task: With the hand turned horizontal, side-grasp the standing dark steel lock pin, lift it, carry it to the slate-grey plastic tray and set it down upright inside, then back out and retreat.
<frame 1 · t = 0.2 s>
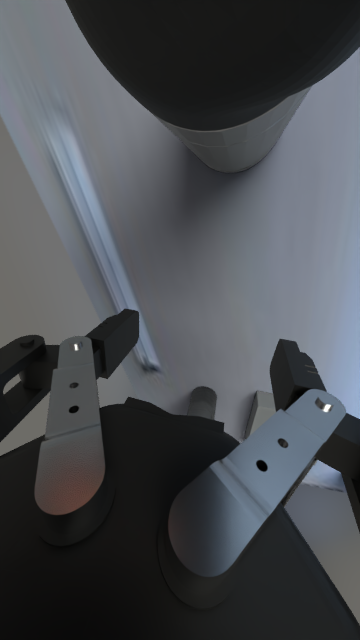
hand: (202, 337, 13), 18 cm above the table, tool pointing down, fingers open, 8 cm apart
tray: (284, 420, 38), on the table
lock pin: (204, 395, 40), on the table
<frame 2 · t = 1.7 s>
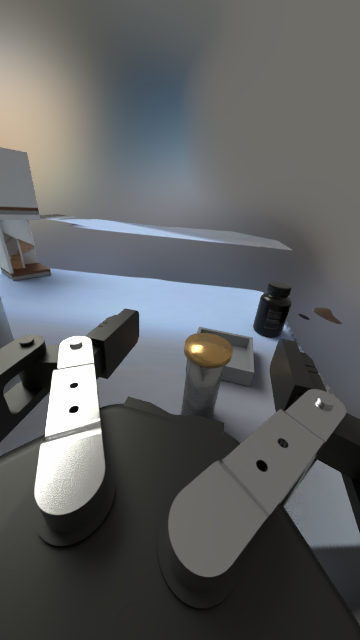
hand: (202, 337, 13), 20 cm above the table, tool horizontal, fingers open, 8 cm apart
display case: (27, 274, 77), on the table
tray: (220, 359, 43), on the table
lock pin: (196, 414, 31), on the table
supplement bottle: (266, 331, 55), on the table
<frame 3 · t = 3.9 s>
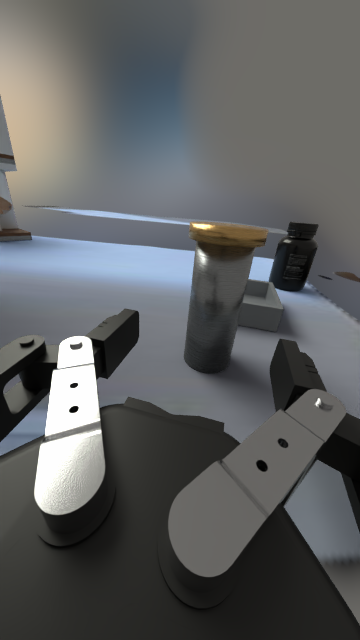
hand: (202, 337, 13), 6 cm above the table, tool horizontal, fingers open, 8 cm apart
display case: (4, 238, 67), on the table
tray: (232, 307, 33), on the table
lock pin: (206, 358, 22), on the table
supplement bottle: (284, 287, 46), on the table
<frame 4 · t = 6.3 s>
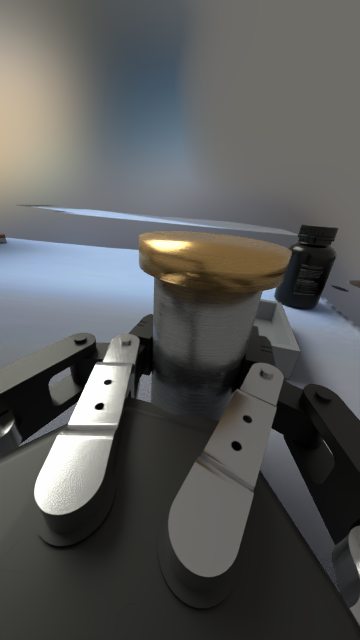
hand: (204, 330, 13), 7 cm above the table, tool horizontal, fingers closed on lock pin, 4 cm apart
tray: (229, 336, 26), on the table
lock pin: (184, 439, 14), on the table, touching gripper
supplement bottle: (293, 302, 38), on the table
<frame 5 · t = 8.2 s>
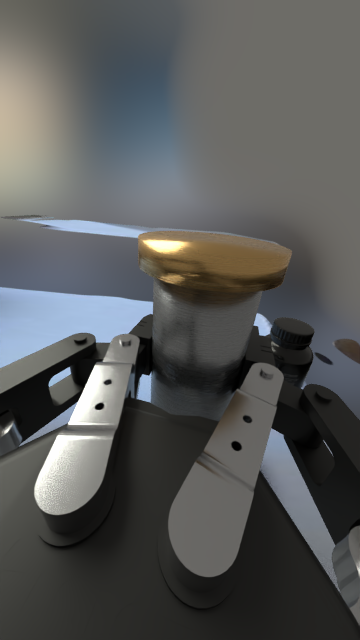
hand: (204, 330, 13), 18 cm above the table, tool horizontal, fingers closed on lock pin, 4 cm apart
lock pin: (184, 439, 14), point 11 cm above the table, touching gripper
supplement bottle: (269, 395, 34), on the table
when the fingers open (9 cm above the table, at t = 10.5 s): lock pin drops 2 cm, resting on tray.
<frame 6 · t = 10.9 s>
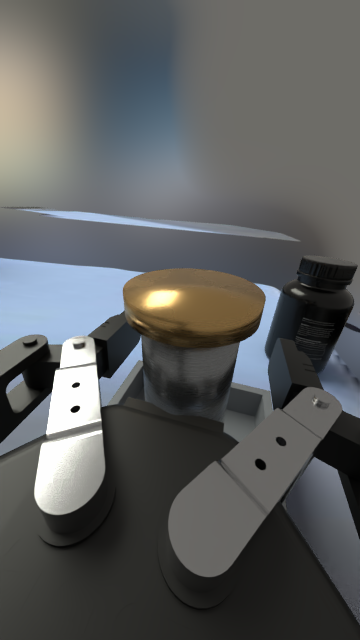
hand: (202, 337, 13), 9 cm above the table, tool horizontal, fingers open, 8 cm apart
tray: (181, 462, 15), on the table
lock pin: (181, 457, 15), point 1 cm above the table, touching tray
supplement bottle: (291, 359, 27), on the table
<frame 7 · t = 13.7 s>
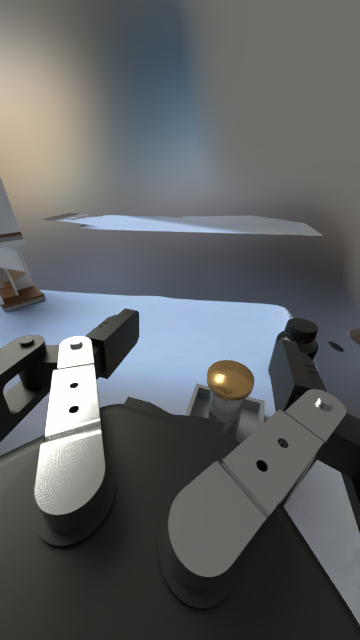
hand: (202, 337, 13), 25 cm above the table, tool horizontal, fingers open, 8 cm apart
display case: (21, 300, 73), on the table
tray: (221, 433, 34), on the table
lock pin: (221, 431, 33), point 1 cm above the table, touching tray
supplement bottle: (285, 376, 44), on the table
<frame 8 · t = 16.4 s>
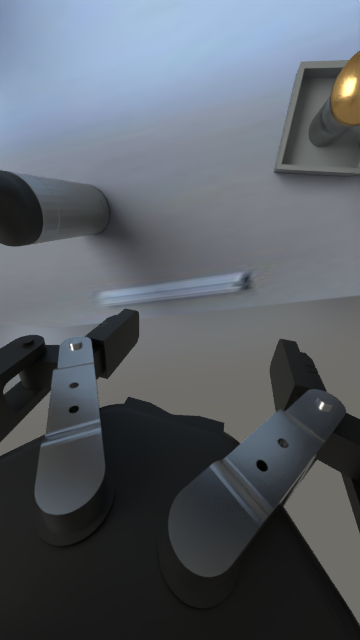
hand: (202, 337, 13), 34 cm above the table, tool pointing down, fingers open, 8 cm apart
tray: (324, 128, 32), on the table
lock pin: (325, 127, 31), point 1 cm above the table, touching tray
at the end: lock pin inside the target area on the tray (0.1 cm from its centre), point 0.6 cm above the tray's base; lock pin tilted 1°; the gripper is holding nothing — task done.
